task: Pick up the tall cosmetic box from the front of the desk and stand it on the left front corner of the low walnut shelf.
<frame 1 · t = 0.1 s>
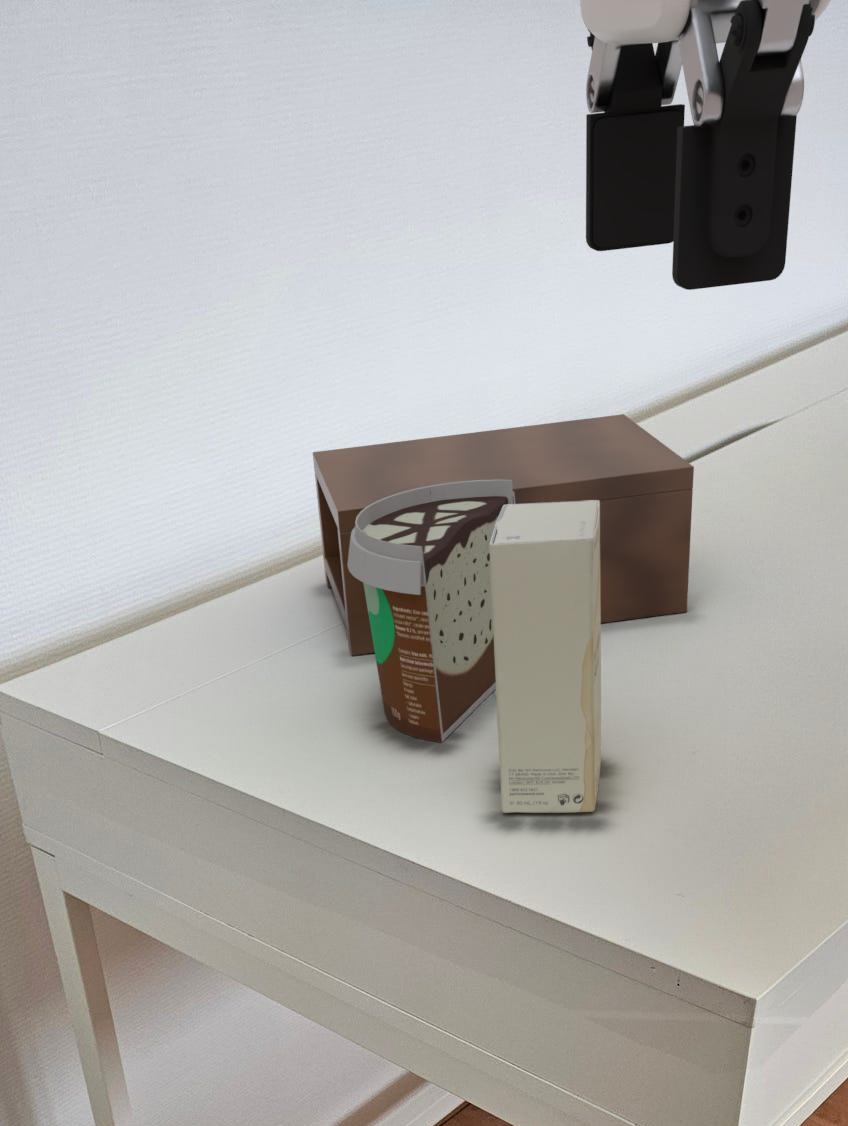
hand: (675, 263, 45), 22 cm above the table, tool pointing down, fingers open, 9 cm apart
cosmetic box: (550, 789, 66), on the table
food container: (425, 704, 75), on the table
shelf: (496, 596, 88), on the table
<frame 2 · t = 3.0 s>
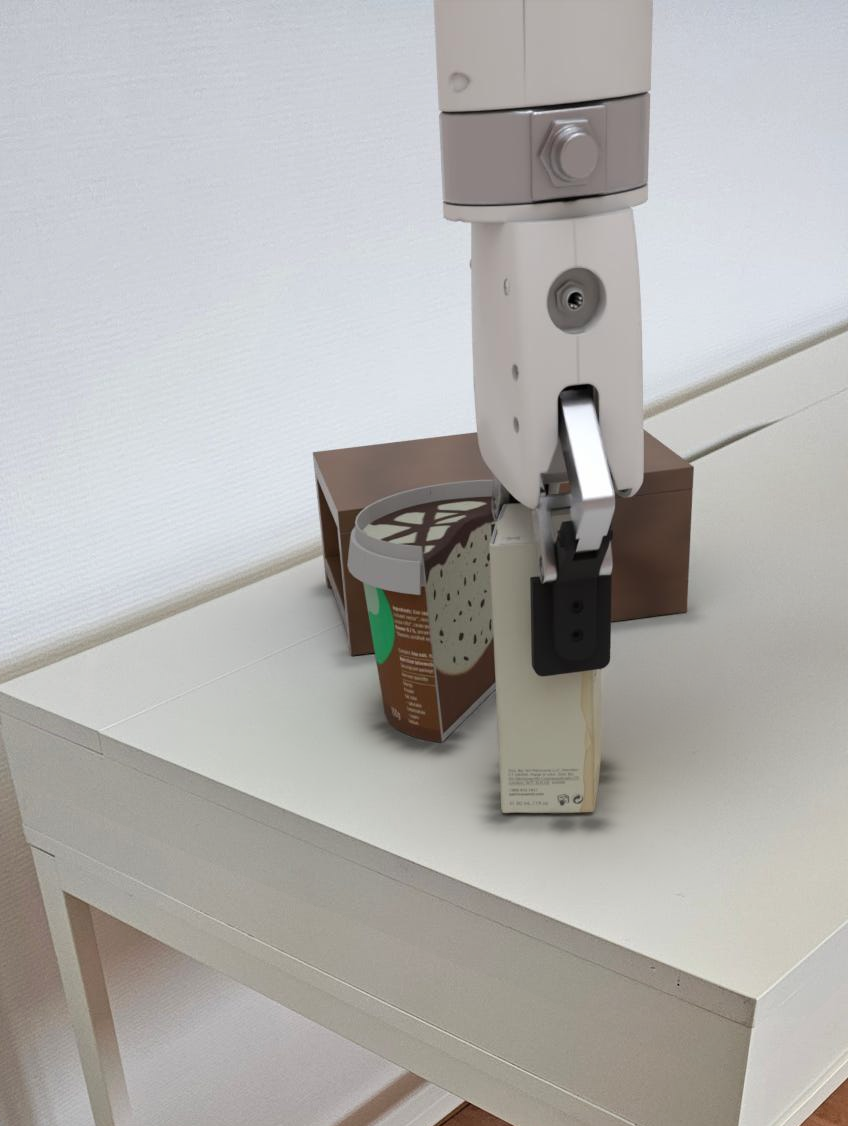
hand: (548, 635, 62), 7 cm above the table, tool pointing down, fingers closed on cosmetic box, 7 cm apart
cosmetic box: (550, 789, 66), on the table, touching gripper
everything else where it was.
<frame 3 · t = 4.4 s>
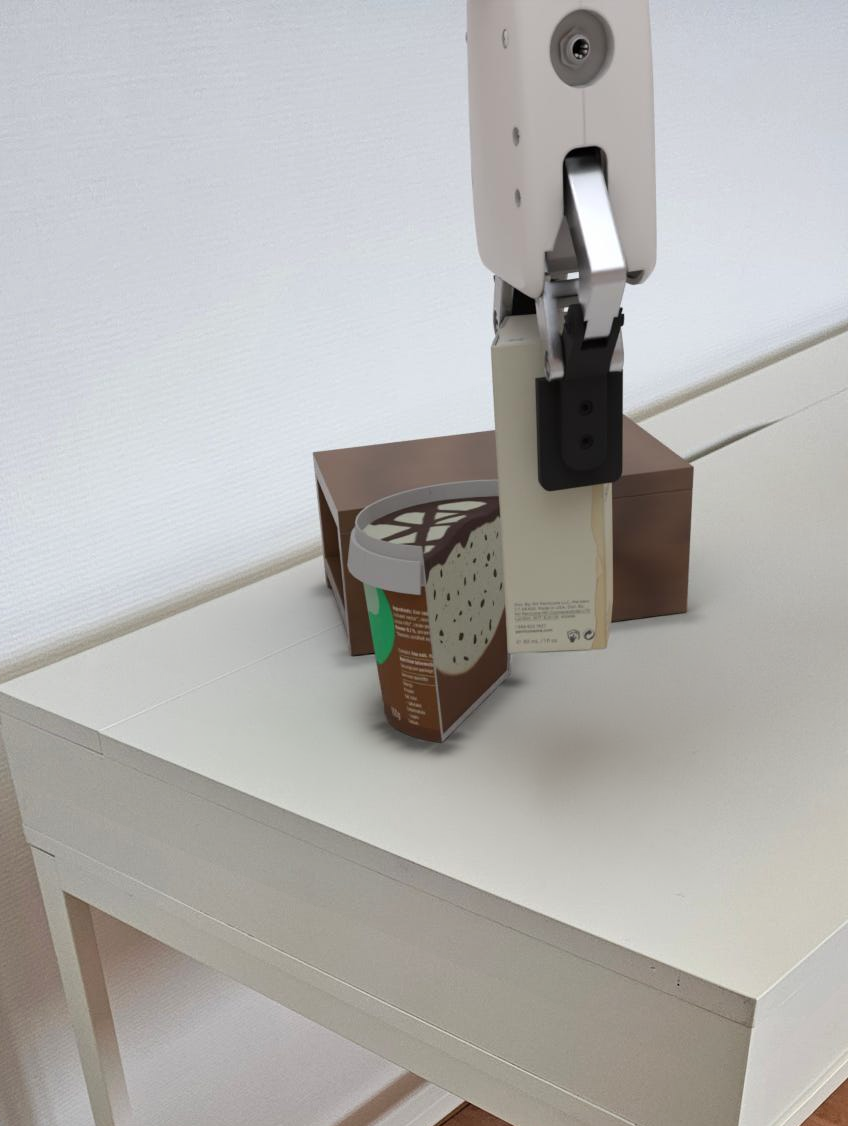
hand: (556, 456, 57), 15 cm above the table, tool pointing down, fingers closed on cosmetic box, 7 cm apart
cosmetic box: (559, 632, 62), point 7 cm above the table, touching gripper
everything else where it was.
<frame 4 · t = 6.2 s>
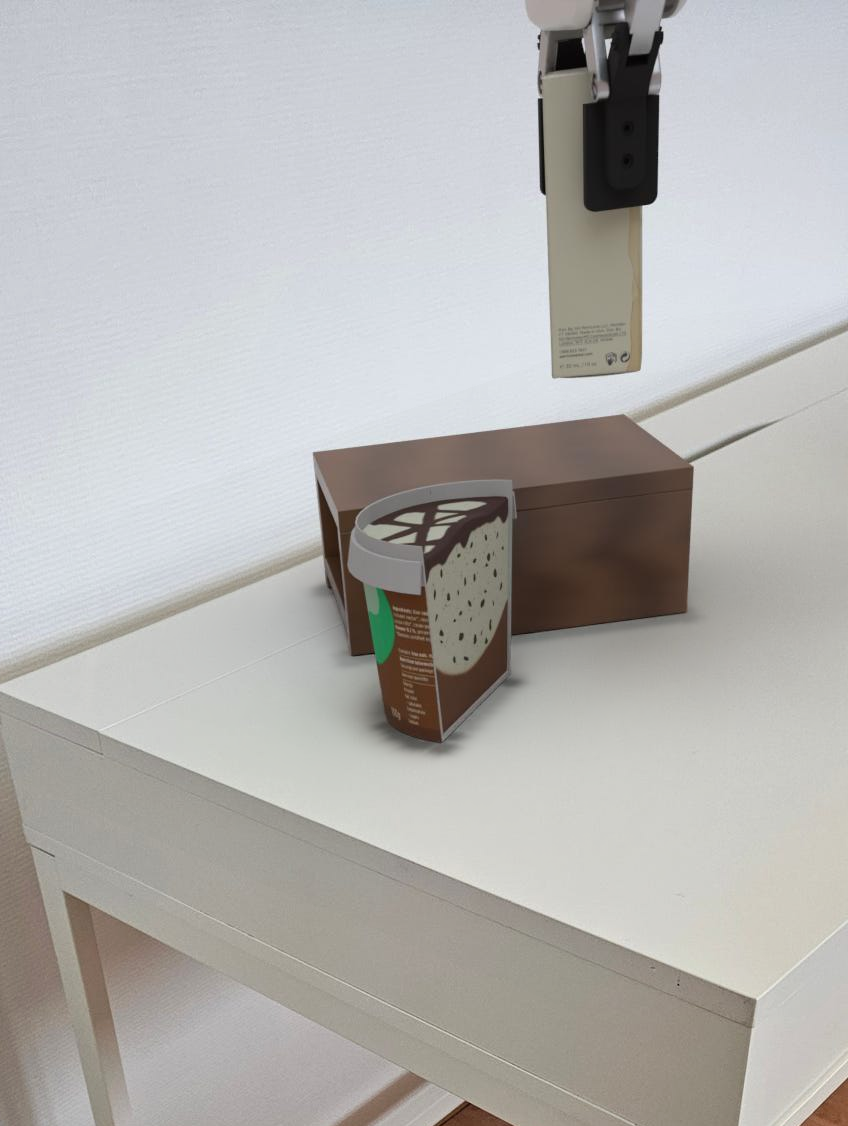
hand: (595, 196, 65), 22 cm above the table, tool pointing down, fingers closed on cosmetic box, 7 cm apart
cosmetic box: (596, 369, 69), point 15 cm above the table, touching gripper
everything else where it was.
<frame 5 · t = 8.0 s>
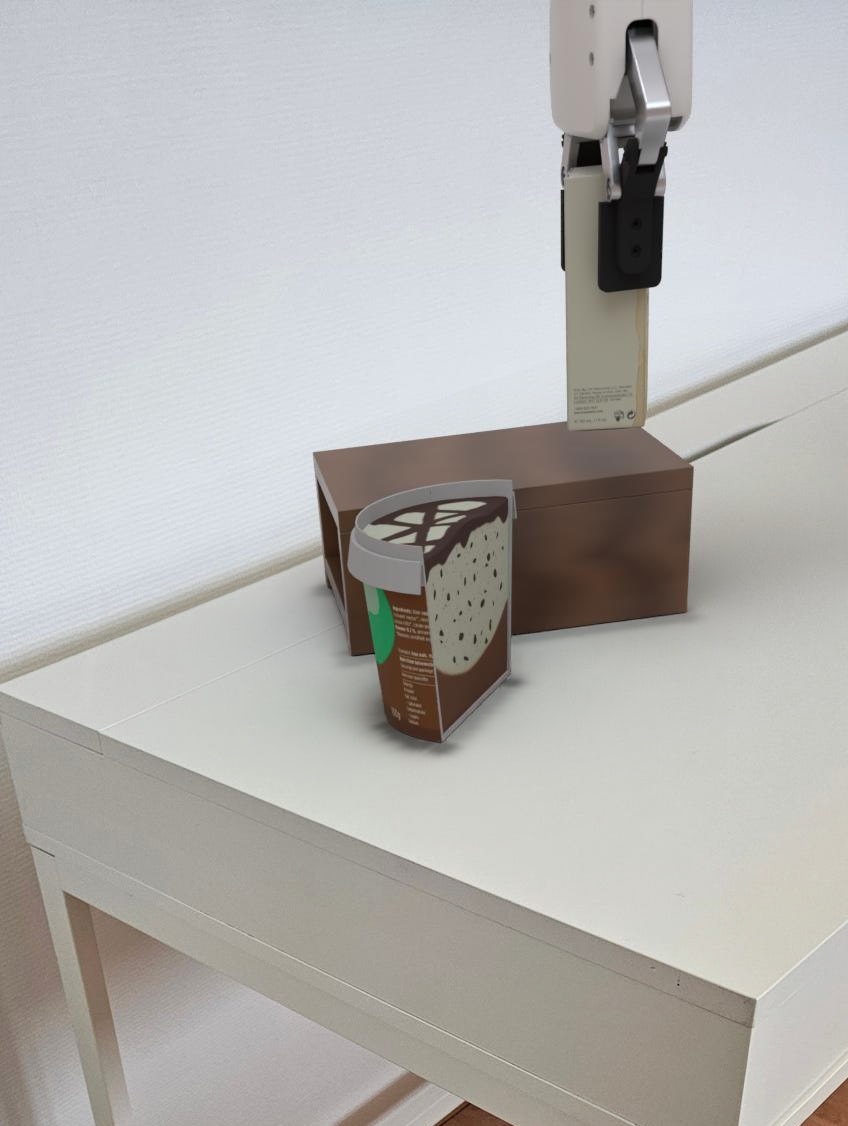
hand: (608, 276, 75), 18 cm above the table, tool pointing down, fingers closed on cosmetic box, 7 cm apart
cosmetic box: (606, 422, 79), point 10 cm above the table, touching gripper
everything else where it was.
when the fingers open (15 cm above the table, at t = 9.3 s): cosmetic box stays where it is, resting on shelf.
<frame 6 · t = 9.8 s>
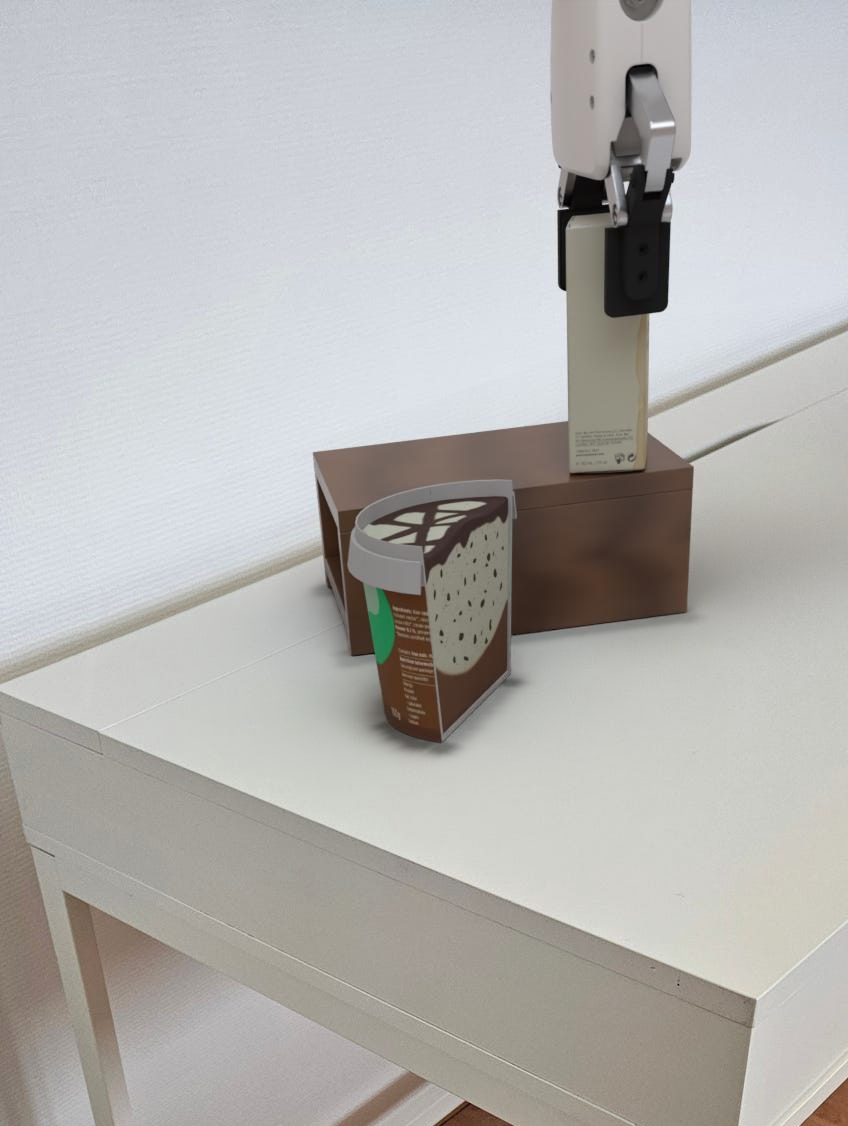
hand: (609, 300, 76), 16 cm above the table, tool pointing down, fingers open, 9 cm apart
cosmetic box: (607, 463, 81), point 8 cm above the table, touching shelf
everything else where it was.
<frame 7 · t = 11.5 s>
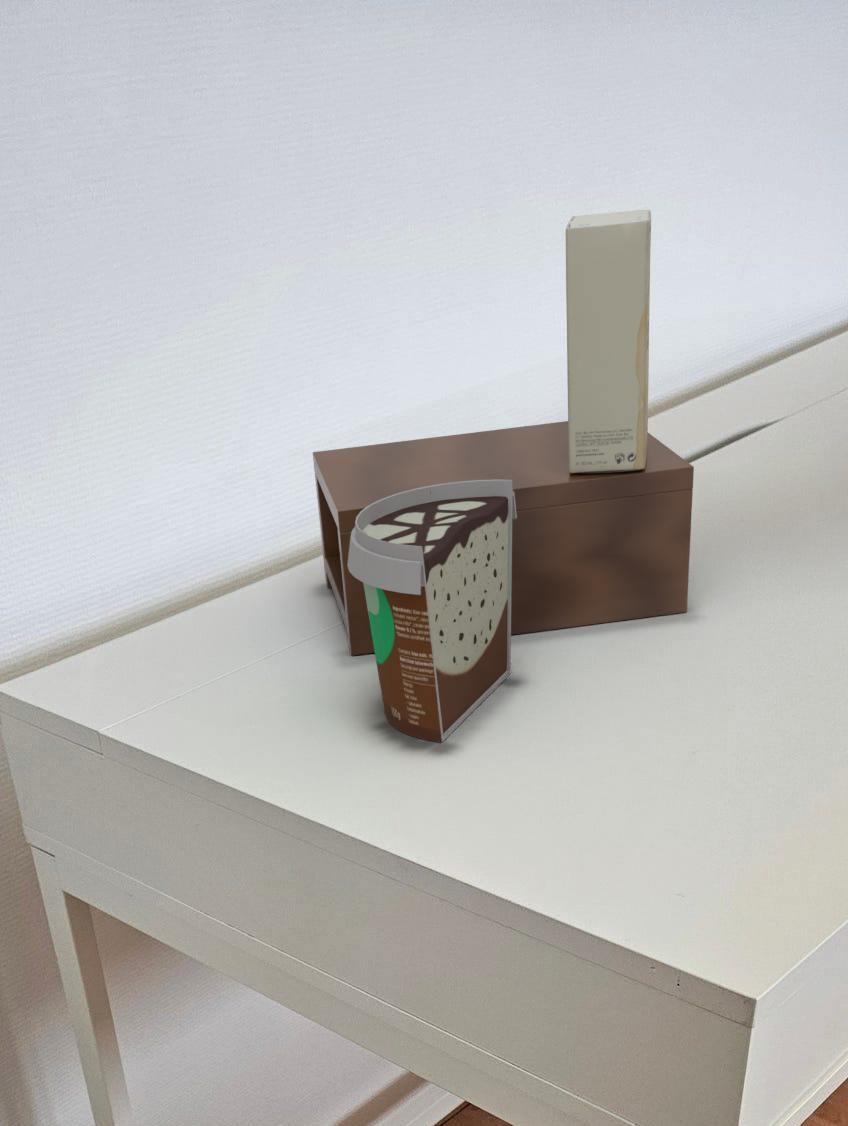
nothing on the table moved.
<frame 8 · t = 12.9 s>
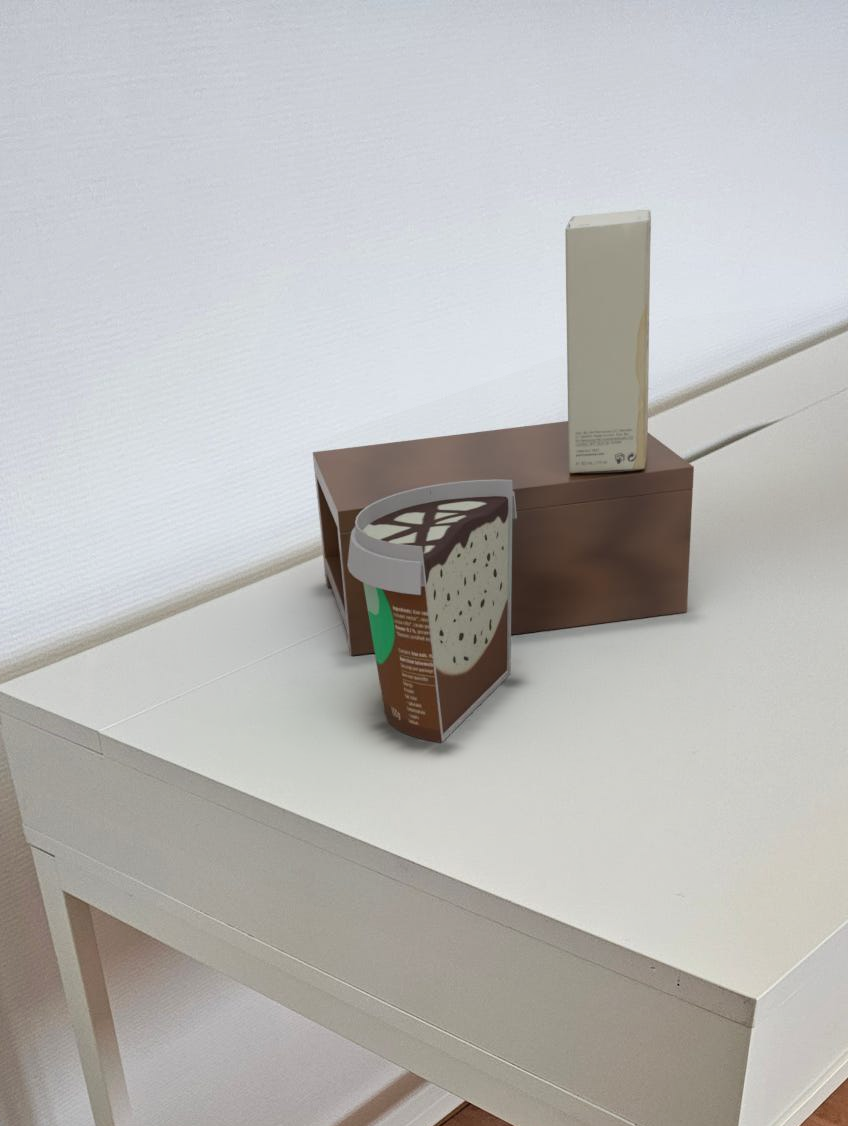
nothing on the table moved.
at the end: cosmetic box 0.0 cm from the target spot on the shelf, point 8.0 cm above the shelf's base; cosmetic box tilted 0° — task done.
